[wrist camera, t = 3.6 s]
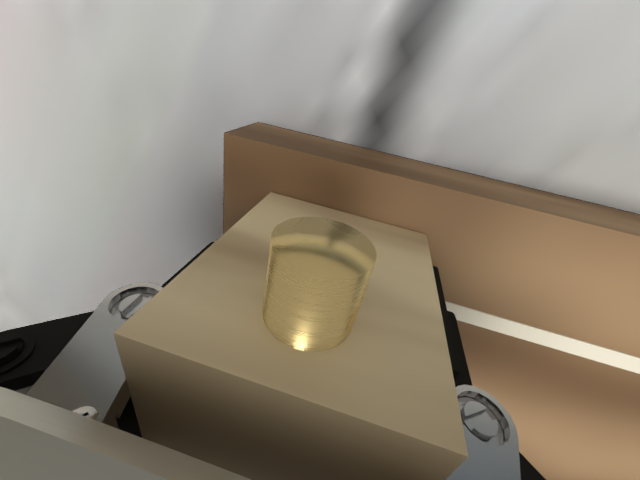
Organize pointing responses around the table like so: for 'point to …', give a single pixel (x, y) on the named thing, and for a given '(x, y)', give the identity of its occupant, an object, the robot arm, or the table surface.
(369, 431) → the marking gauge
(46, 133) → the table surface
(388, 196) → the board
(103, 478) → the robot arm
